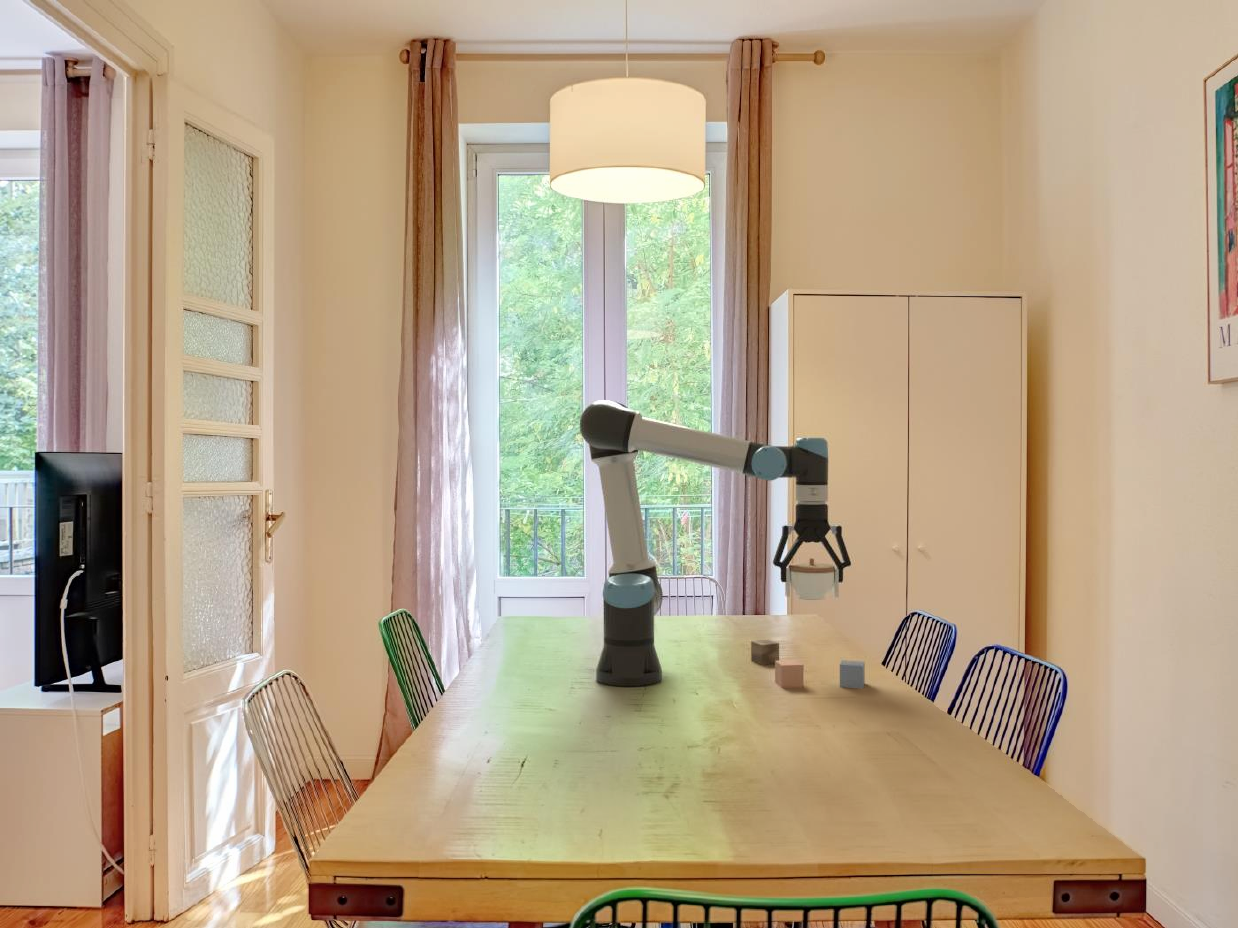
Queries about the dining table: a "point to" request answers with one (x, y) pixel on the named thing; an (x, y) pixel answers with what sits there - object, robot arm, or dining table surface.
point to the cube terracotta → (789, 673)
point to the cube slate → (852, 674)
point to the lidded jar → (811, 579)
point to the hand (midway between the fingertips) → (811, 596)
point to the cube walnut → (764, 652)
